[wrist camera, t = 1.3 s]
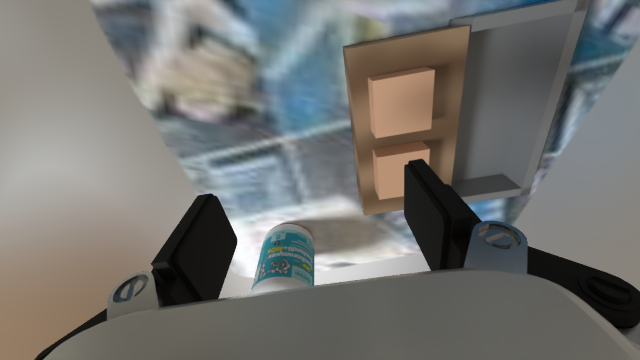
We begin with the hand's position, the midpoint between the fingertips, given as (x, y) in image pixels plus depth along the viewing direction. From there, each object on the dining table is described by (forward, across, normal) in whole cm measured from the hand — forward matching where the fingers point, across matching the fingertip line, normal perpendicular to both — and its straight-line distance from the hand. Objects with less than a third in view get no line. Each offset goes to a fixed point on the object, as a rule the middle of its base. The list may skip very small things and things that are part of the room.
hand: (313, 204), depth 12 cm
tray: (+18, -19, +4) cm, 26 cm away
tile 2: (+14, -8, 0) cm, 16 cm away
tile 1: (+14, -8, +7) cm, 18 cm away
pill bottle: (+18, +7, +19) cm, 27 cm away
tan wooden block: (+18, -9, +4) cm, 21 cm away
